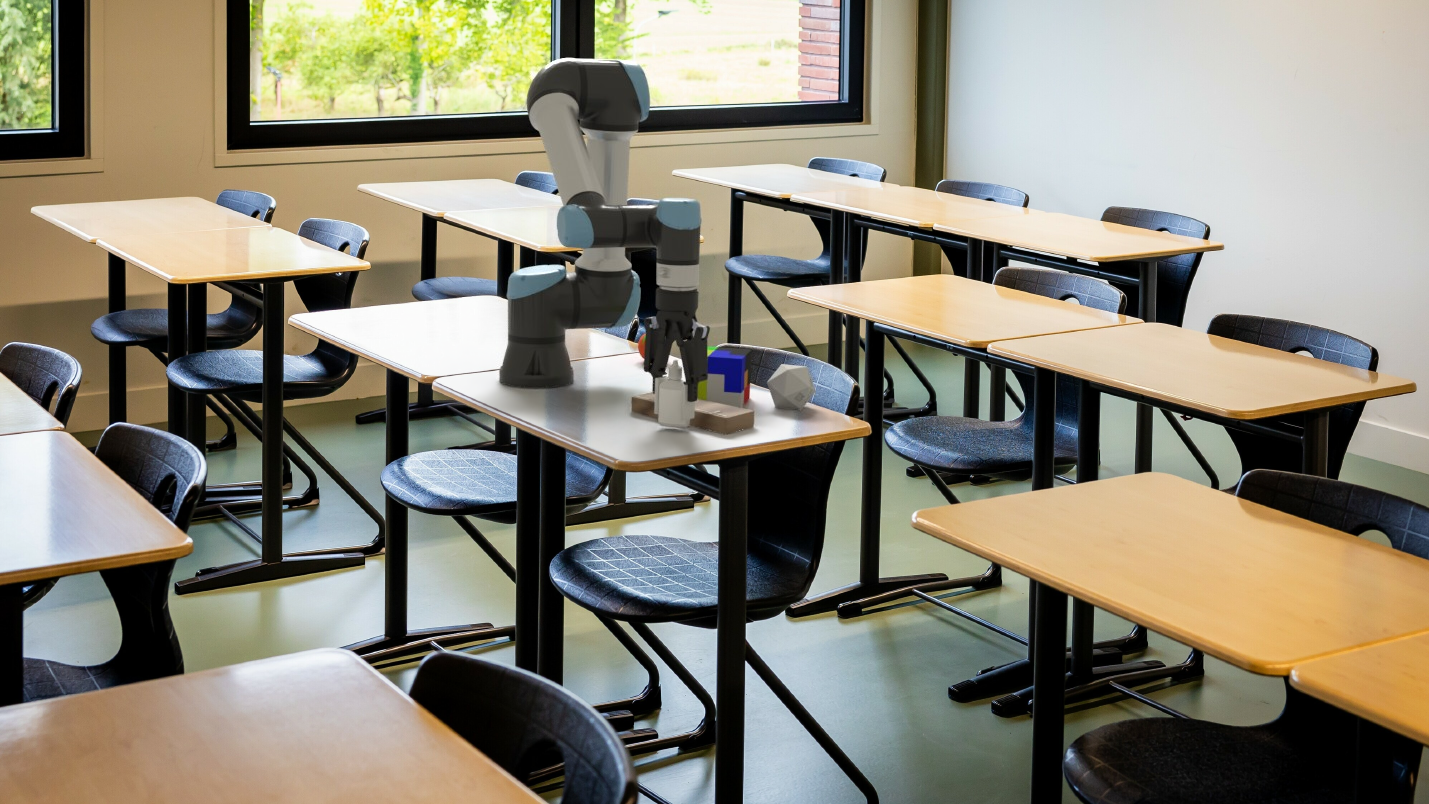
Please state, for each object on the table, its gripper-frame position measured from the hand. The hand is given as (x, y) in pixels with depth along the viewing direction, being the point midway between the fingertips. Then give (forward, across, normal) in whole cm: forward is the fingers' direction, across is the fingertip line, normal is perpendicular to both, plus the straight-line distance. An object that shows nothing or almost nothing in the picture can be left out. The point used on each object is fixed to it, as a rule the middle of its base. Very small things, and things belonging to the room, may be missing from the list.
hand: (674, 415), depth 252 cm
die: (+3, +4, +30) cm, 30 cm away
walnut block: (+3, -3, +8) cm, 9 cm away
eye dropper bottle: (+2, 0, 0) cm, 2 cm away
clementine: (+3, -43, +42) cm, 60 cm away
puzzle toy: (+3, -8, +23) cm, 25 cm away
